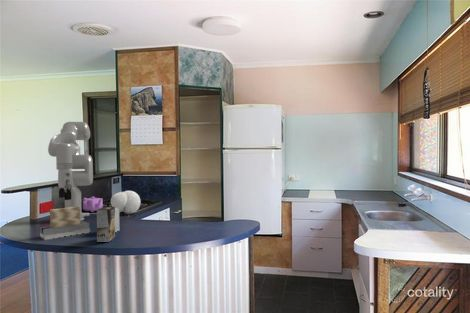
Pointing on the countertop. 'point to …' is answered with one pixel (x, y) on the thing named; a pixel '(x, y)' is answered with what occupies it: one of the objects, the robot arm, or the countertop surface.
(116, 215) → the supplement box
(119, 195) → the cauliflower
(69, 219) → the door panel
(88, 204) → the purple lumpy block
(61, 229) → the door track
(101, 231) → the coffee box
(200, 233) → the countertop surface
